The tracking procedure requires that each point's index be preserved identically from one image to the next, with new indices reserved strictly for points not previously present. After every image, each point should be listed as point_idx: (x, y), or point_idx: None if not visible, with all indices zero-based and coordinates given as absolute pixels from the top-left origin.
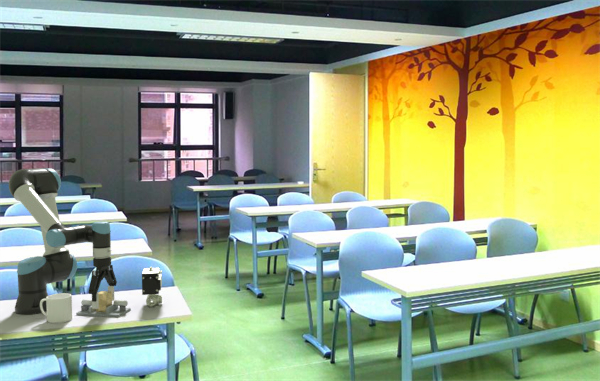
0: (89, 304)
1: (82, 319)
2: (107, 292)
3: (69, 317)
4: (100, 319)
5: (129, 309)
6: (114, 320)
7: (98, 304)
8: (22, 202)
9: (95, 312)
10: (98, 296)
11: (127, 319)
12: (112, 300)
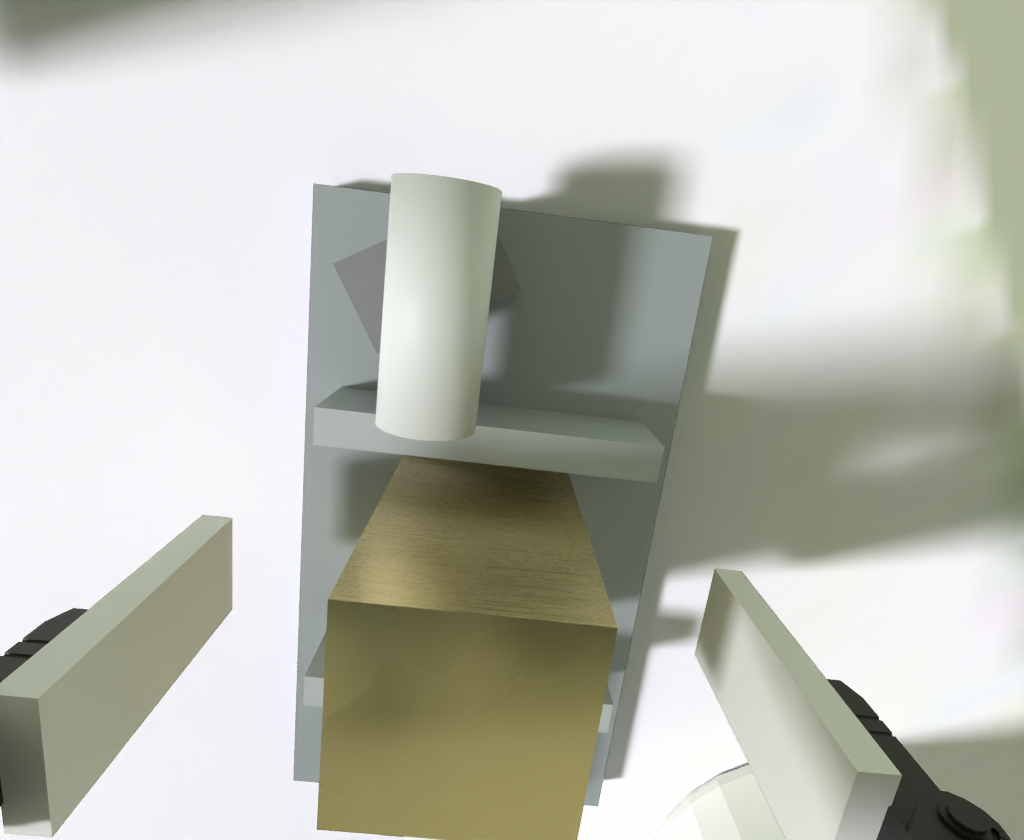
0: None
1: None
2: (437, 659)
3: None
4: (789, 451)
5: (355, 191)
6: (857, 240)
7: (748, 606)
8: None
9: None
10: (817, 711)
11: (826, 49)
12: (230, 538)
